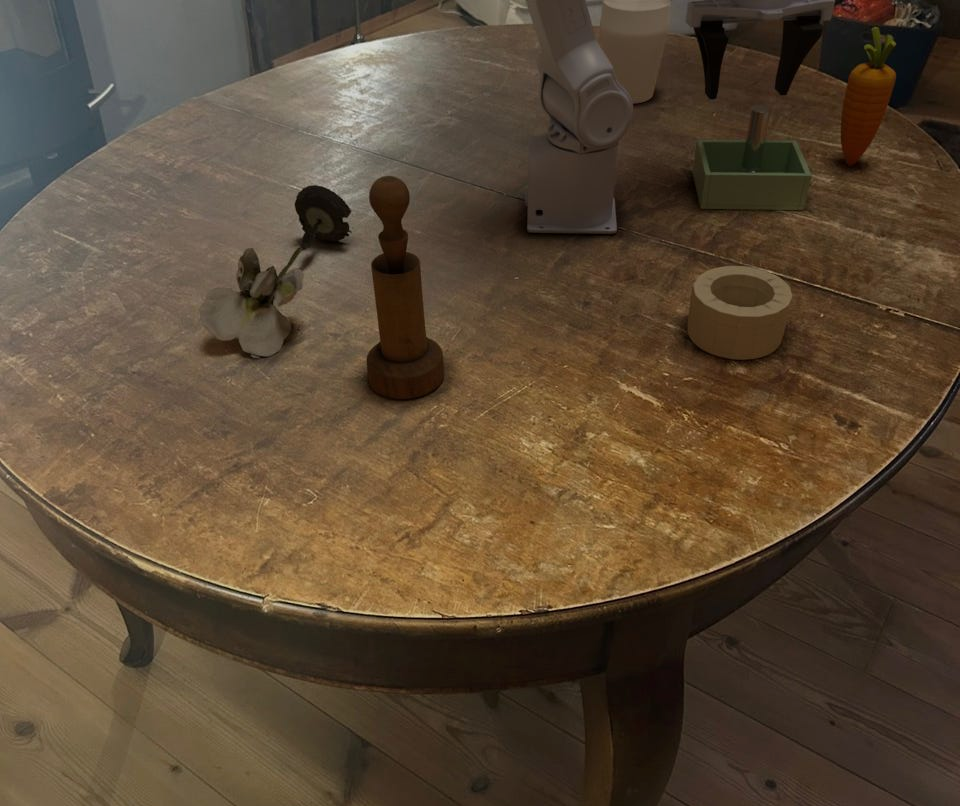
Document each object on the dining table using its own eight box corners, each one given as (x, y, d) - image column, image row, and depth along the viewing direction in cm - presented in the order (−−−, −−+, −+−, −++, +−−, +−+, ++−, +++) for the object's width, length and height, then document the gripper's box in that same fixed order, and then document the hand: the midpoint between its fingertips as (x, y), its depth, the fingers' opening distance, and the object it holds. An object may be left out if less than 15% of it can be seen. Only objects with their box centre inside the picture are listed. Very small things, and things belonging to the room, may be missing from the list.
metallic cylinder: (739, 192, 104) (753, 113, 98) (736, 181, 106) (750, 103, 100) (758, 192, 104) (773, 113, 98) (754, 181, 106) (768, 103, 100)
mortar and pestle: (405, 346, 84) (387, 153, 72) (459, 372, 81) (450, 174, 69) (353, 381, 80) (324, 183, 68) (408, 410, 77) (388, 208, 65)
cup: (585, 88, 129) (590, -5, 121) (644, 80, 131) (653, -13, 123) (611, 111, 123) (618, 14, 115) (672, 102, 125) (684, 6, 117)
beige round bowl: (691, 358, 81) (698, 315, 78) (683, 307, 88) (689, 264, 85) (789, 361, 81) (799, 317, 78) (773, 309, 87) (783, 266, 84)
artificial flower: (372, 254, 99) (382, 177, 91) (267, 394, 85) (268, 318, 77) (297, 222, 99) (301, 142, 91) (181, 356, 86) (173, 276, 78)
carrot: (874, 176, 107) (911, 39, 97) (829, 173, 108) (862, 37, 98) (869, 158, 111) (905, 24, 101) (826, 155, 112) (857, 22, 101)
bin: (700, 209, 102) (705, 174, 99) (692, 172, 109) (697, 139, 106) (803, 210, 101) (811, 175, 99) (789, 173, 108) (796, 140, 105)
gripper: (707, -34, 87) (688, 111, 96) (858, -42, 87) (825, 104, 96) (688, -53, 92) (672, 87, 101) (831, -60, 92) (802, 80, 102)
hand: (745, 94), depth 99 cm, fingers open, 7 cm apart
